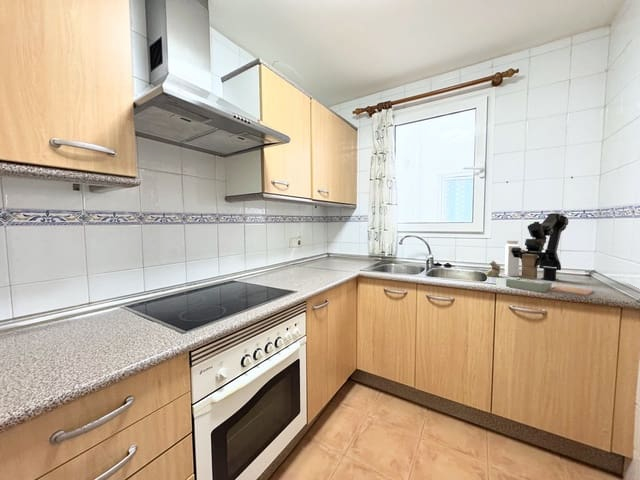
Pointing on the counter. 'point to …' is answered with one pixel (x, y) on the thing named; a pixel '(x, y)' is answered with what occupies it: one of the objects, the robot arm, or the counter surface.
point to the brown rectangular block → (529, 266)
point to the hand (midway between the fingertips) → (528, 266)
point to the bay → (528, 285)
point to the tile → (572, 290)
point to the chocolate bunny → (493, 270)
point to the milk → (511, 259)
